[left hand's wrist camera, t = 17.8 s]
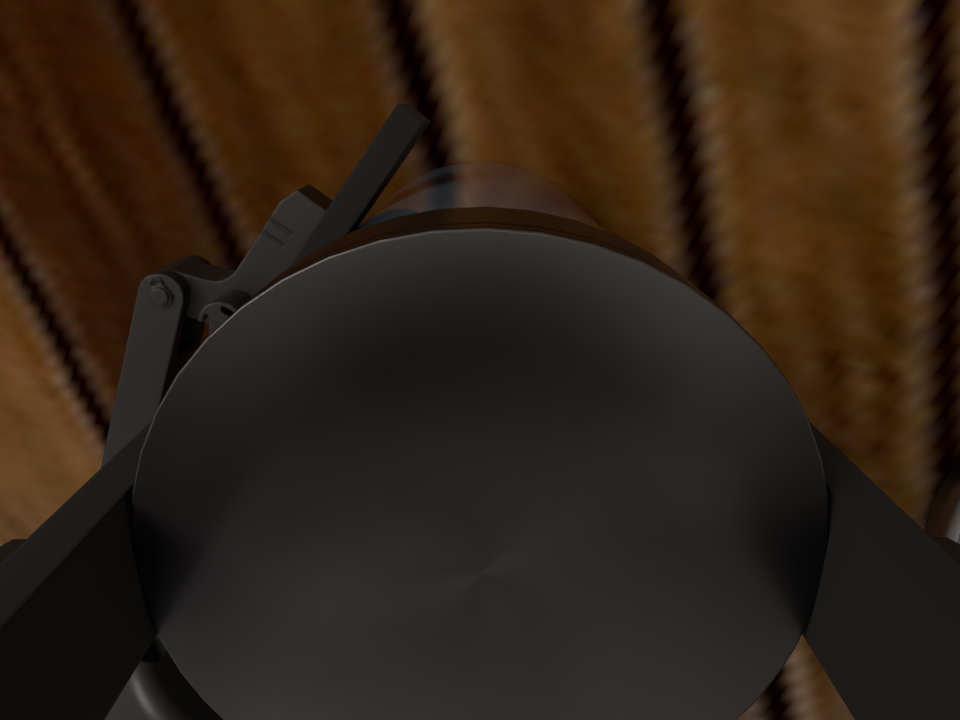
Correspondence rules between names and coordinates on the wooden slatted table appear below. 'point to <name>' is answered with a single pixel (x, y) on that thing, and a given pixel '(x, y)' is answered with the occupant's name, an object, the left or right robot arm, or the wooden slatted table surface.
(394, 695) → the lid
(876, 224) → the wooden slatted table surface
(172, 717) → the right robot arm
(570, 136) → the wooden slatted table surface
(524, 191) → the jar
